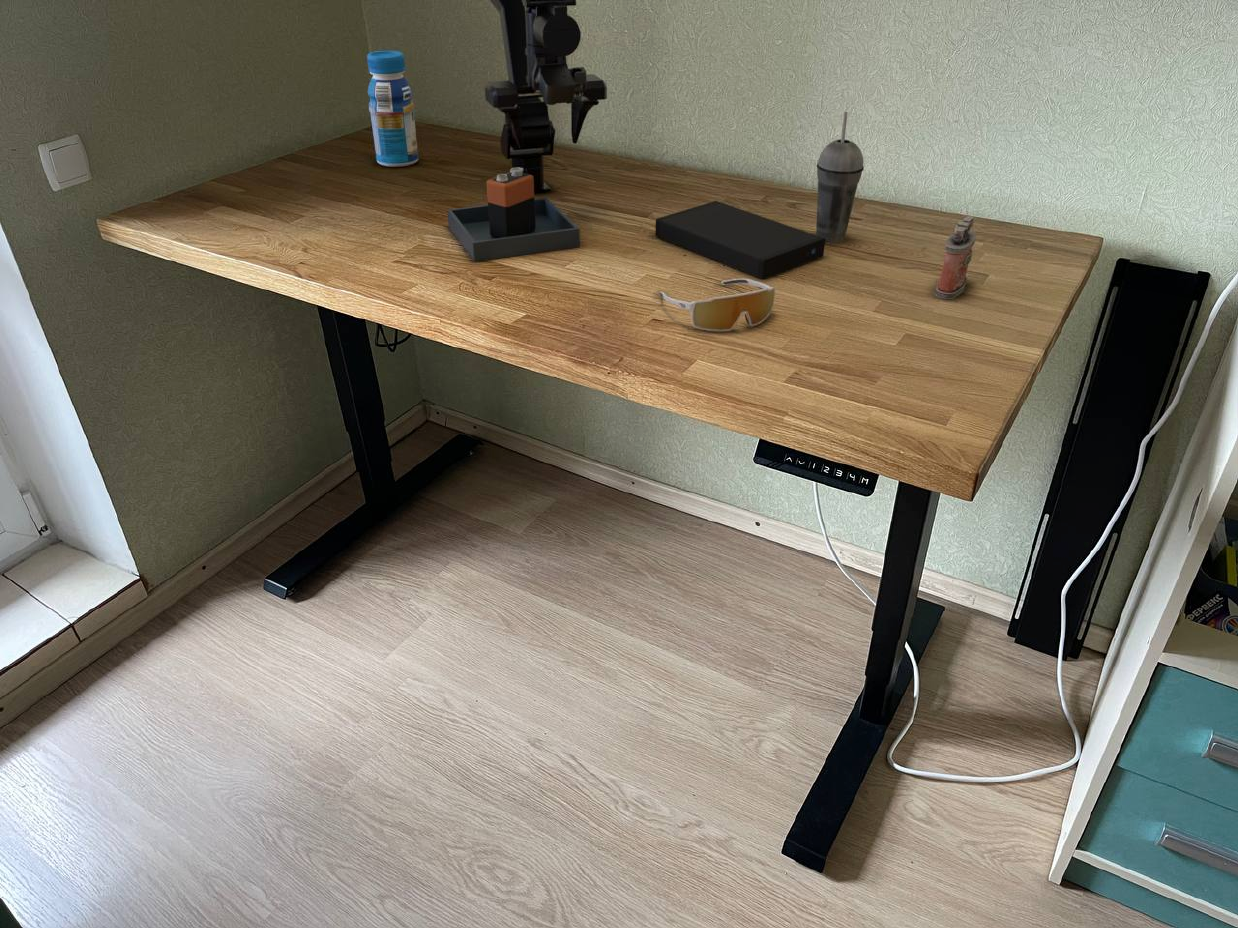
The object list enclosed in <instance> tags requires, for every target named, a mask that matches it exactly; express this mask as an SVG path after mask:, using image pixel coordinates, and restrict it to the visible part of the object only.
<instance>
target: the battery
mask: <svg viewBox="0 0 1238 928" xmlns="http://www.w3.org/2000/svg"><path fill="white" fill-rule="evenodd" d="M522 172H523V168H519V167H517V168H512V167H511V168H510V170H509V172H507V173H500V174H497V175H496V176H495V177H492V178H489V179H487V181H486V194H487V205H488V211H489V225H490V235H491V236H493V237H496V238H503V237H511V236H518V235H525V234H528V233H530V232H532V231H534V230H535V229H536V226H535V202H534V199H535V192H534V178H533V176H532V175H530V174H526V173H522Z"/></svg>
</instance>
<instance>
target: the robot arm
mask: <svg viewBox="0 0 1238 928" xmlns="http://www.w3.org/2000/svg"><path fill="white" fill-rule="evenodd" d="M489 1H490V3H491V4H492V5H493V6H494V7H495V9H496V10H497V12H498V13H499V20H500V26H501V33H502V34H501V35H502V41H503V49H504V56H505V63H506V64H505V65H506V70H507V78H508V80H496V81H495V80H494V81H488V82H487V83H486V84H485V88H484V95H485V97H484V98H485V101H487V103H488V104H489V105H490V106H492V107H493V108H494V109H498V110H499V112H501V113H503V114H504V123H503V126H502V130H501V135H500V140H499V141H500V149H501V154H502V155H503V156H504V158H506V160H511V168H517V167H519V168H523V172H522V173H526V174H530V175H532V176H533V178H534V193H541V192H549V191H550V192H551V186H549V185H548V184H547V183H546V182H545V177H544V176H545V175H544V156H550V157H551V156H553V155H554V154H553V153H554V146H555V137H556V128H555V127H554V124H553V121H552V120H551V119H550V115H549V107H548V106H555V105H556V104H566V105H568V104H570V108H571V110H570V111H571V112H570V120H571V121H570V122H571V126H570V127H571V128H570V131H571V132H570V133H571V141H572V143H573V144H574V145H575V144H577V143H578V140H579V137H580V134H581V131H582V128H583V125H584V122H585V120H586V118H587V115H588V113H589V111H590V110H591V109H592V108H593V107H594V106H599V104H600V101H603V100H607V99H608V87H607V83H606V82H605V81H604V80H603V79H602V78H600V77H599V76H597V75H596V74H594V73H593V74H592V73H591V74H587V71H586V68H585V67H584V66H578V67H577V66H576V67H572V68H569V66H568V64H567V57H568V56H570V55H572V54H573V53H574V52H575V51H576V50H577V49H578V47H579V45H580V43H581V37H582V31H581V29H580V26H579V24H578V22H577V21H576V19H574V18H573V17H572V16H571V15H569V14H568V7H574V6H577V0H489ZM541 98H542V99H541ZM542 100H543V101H542Z"/></svg>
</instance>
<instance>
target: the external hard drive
mask: <svg viewBox="0 0 1238 928" xmlns="http://www.w3.org/2000/svg"><path fill="white" fill-rule="evenodd" d="M654 228H655V230H654V231H655V232H654V233H655V237H657V238H659V239H660V240H661V239H662V240H663V241H666V242H669V243H671V244H673V245H676V246H678V247H681V248H684V249H686V250H688V251H692V252H694V253H696V254H699V255H700V256H704V257H706V258H709V259H712V260H714V261H716V262H719V263H721V264H723V265H726V266H728V267H731V268H734V269H736V270H739V271H741V272H744V273H746V274H749V275H751V276H753V277H756V278H758V279H761V280H765V279H767V278H771V277H773V276H777V275H779V274H781V273H783V272H786V271H789V270H791V269H795V268H797V267H799V266H802V265H804V264H808V263H810V262H813V261H816V260H818V259H820V258H821V259H822V258H823V257H824V254H825V246H826V242H825V238H822V237H819V236H817V234H814V233H810V232H809V231H804V230H801V229H799V228H797V227H793V226H791V225H788V224H784V223H782V222H779V221H777V220H776V221H775V220H773V219H771V218H768V217H764V216H762V215H758V214H757V213H756V214H755V213H753V212H750V211H747V210H744V209H741V208H738V207H736V206H733V205H730V204H727V203H725V202H721V201H718V200H713V201H710V202H708V203H704V204H701V205H697V206H695V207H691V208H687V209H684V210H681V211H677V212H674V213H671V214H667V215H663V216H661V217H658V218H657V217H656V219H655V227H654Z"/></svg>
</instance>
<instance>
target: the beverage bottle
mask: <svg viewBox="0 0 1238 928" xmlns="http://www.w3.org/2000/svg"><path fill="white" fill-rule="evenodd" d="M366 60H367V67H368V72H369V74H370V75H372V77H371V79H370V81H369V83H368V87H367V95H368V97H369V102H368V111H369V113H370V119H371V126H372V128H371V129H372V135H373V142H374V149H375V150H374V151H375V159H376V163H378V164H379V165H380V166H383V167H389V168H403V167H408V166H412V165H415V164H417V162H418V161H419V151H418V142H417V141H418V139H417V132H416V130H417V129H416V121H415V105H414V101H413V99H412V98H411V96H412V94H413V91H412V88H411V85H410V83H409V81H408V80H407V78H406V76H404V75H403V74H404V73H405V72H406V63H405V62H406V61H405V55H404V53H403V52H401V51H398V50H377V51H371V52H369V53H368V54H367V58H366Z"/></svg>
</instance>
